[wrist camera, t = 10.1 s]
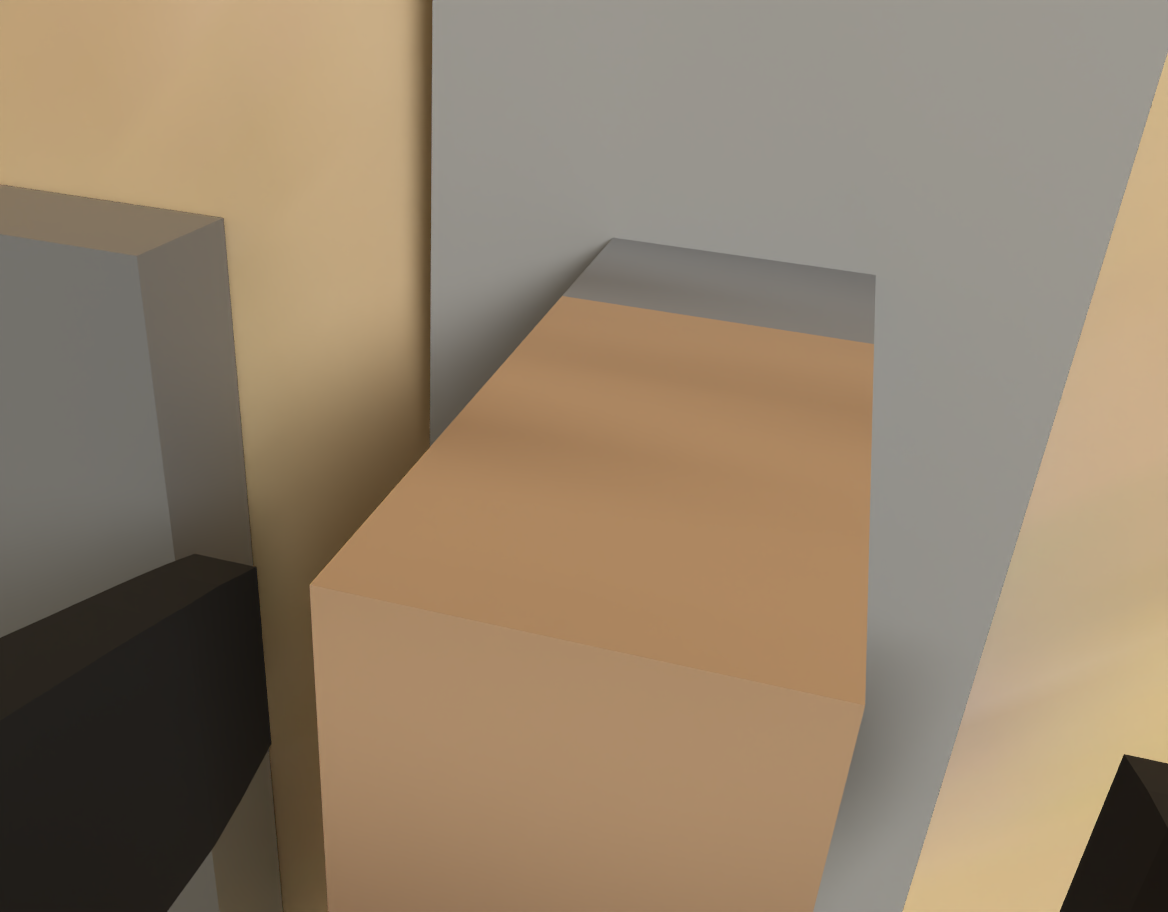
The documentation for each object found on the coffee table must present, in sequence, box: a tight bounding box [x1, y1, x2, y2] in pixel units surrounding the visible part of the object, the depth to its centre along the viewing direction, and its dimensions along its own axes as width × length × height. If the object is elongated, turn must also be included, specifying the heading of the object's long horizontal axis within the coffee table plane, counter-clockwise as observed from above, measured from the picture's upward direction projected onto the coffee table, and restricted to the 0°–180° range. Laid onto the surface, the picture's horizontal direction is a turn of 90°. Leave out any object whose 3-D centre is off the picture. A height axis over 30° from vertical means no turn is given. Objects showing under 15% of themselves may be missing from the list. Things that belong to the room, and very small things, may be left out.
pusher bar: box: [309, 238, 876, 912], centre depth 9 cm, size 7×2×6 cm, turn 176°
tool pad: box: [430, 0, 1168, 912], centre depth 11 cm, size 12×6×1 cm, turn 176°
